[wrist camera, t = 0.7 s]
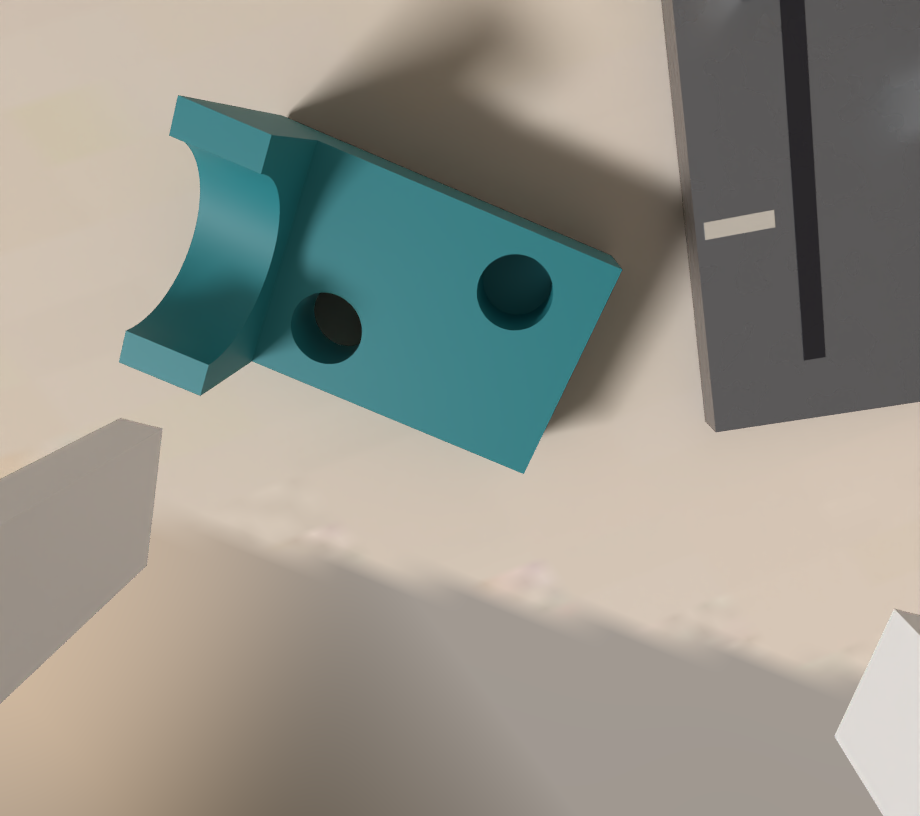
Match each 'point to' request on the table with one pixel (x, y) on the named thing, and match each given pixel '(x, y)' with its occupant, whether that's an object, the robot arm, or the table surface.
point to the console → (800, 202)
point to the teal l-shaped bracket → (370, 286)
